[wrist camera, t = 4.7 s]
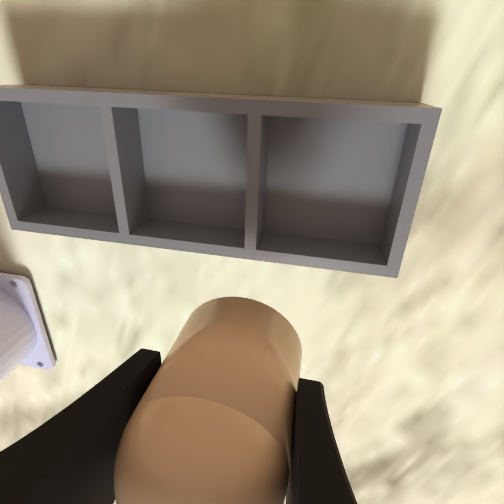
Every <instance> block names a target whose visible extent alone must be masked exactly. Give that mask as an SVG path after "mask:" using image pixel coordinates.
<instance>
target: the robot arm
mask: <svg viewBox="0 0 504 504" xmlns="http://www.w3.org/2000/svg"><path fill="white" fill-rule="evenodd" d="M19 364H21V365H26V366H31V367H36V368H41V369H46V370H52V369H53V368H54V367H55V365H56V363H55V359H54V356H53V353H52V350H51V347H50V343H49V340H48V337H47V334H46V330H45V327H44V324H43V321H42V317H41V314H40V311H39V308H38V304H37V301H36V298H35V295H34V291H33V288H32V285H31V282H30V280H29V279H28V278H27V277H25V276H21V275H15V274H8V273H1V272H0V382H1V381H2V380H3V379H4V378H5V377H6V376H7V375H9V374H10V373H11V372H12V371H13V370H14V369H15V368H16V367H17V366H18V365H19ZM160 366H161V356H160V352H158V351H153V350H147V349H140V350H139V351H138V352H136V353H135V354H134V355H133V356H131V357H130V358H129V359H128V360H126V361H125V362H124V363H123V364H121V365H120V366H119V367H118V368H116V369H115V370H114V371H113V372H112V373H110V374H109V375H108V376H107V377H105V378H104V379H103V380H102V381H100V382H99V383H98V384H96V385H95V386H94V387H93V388H91V389H90V390H89V391H87V392H86V393H85V394H83V395H82V396H81V397H80V398H78V399H77V400H76V401H74V402H73V403H72V404H70V405H69V406H68V407H66V408H65V409H63V410H62V411H61V412H59V413H58V414H56V415H55V416H54V417H52V418H51V419H49V420H48V421H47V422H45V423H44V424H42V425H41V426H39V427H38V428H37V429H35V430H34V431H32V432H31V433H29V434H28V435H26V436H25V437H23V438H21V439H20V440H18V441H17V442H15V443H14V444H12V445H10V446H9V447H7V448H6V449H4V450H3V451H1V452H0V504H113V503H114V501H115V499H116V498H115V492H114V467H115V458H116V453H117V449H118V445H119V442H120V439H121V436H122V434H123V431H124V429H125V427H126V425H127V423H128V421H129V419H130V417H131V416H132V414H133V412H134V410H135V409H136V407H137V405H138V404H139V402H140V400H141V399H142V397H143V395H144V393H145V392H146V390H147V388H148V387H149V385H150V383H151V382H152V380H153V378H154V376H155V375H156V373H157V371H158V370H159V368H160ZM286 504H357V502H356V499H355V496H354V494H353V491H352V488H351V486H350V483H349V480H348V477H347V475H346V472H345V469H344V466H343V463H342V460H341V456H340V453H339V450H338V447H337V444H336V441H335V437H334V434H333V430H332V426H331V422H330V419H329V415H328V410H327V406H326V401H325V395H324V387H323V385H322V383H321V382H318V381H313V380H307V379H302V378H299V379H298V386H297V393H296V402H295V412H294V421H293V443H292V457H291V467H290V477H289V483H288V489H287V492H286Z"/></svg>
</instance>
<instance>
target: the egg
mask: <svg viewBox="0 0 504 504" xmlns="http://www.w3.org/2000/svg"><path fill="white" fill-rule="evenodd" d="M301 356H302V349H301V343H300V340H299V337H298V335H297V333H296V331H295V330H294V328H293V326H292V325H291V324H290V323H289V322H288V320H287V319H286V318H285V317H283V316H282V315H281V314H280V313H279V312H277V311H276V310H274V309H273V308H271V307H269V306H268V305H265V304H263V303H261V302H258V301H255V300H252V299H248V298H242V297H223V298H217V299H213V300H210V301H208V302H206V303H204V304H202V305H201V306H199V307H198V308H197V309H196V310H195V311H194V312H193V313H192V314H191V315H190V317H189V319H188V320H187V322H186V324H185V325H184V327H183V329H182V331H181V332H180V334H179V336H178V337H177V339H176V341H175V342H174V344H173V346H172V348H171V349H170V351H169V353H168V354H167V356H166V358H165V359H164V361H163V363H162V365H161V366H160V368H159V370H158V371H157V373H156V375H155V376H154V378H153V380H152V382H151V383H150V385H149V387H148V388H147V390H146V392H145V393H144V395H143V397H142V399H141V400H140V402H139V404H138V405H137V407H136V409H135V410H134V412H133V414H132V416H131V417H130V419H129V421H128V423H127V425H126V427H125V429H124V431H123V434H122V436H121V439H120V442H119V445H118V449H117V453H116V458H115V467H114V492H115V498H116V503H117V504H283V503H284V499H285V496H286V492H287V489H288V483H289V477H290V467H291V457H292V443H293V421H294V412H295V402H296V393H297V386H298V379H299V377H300V367H301Z"/></svg>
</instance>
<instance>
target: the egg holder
mask: <svg viewBox="0 0 504 504" xmlns="http://www.w3.org/2000/svg"><path fill="white" fill-rule="evenodd" d="M441 111H442V108H438V107H434V106H430V105H427V104H423V103H411V102H389V101H368V100H346V99H324V98H303V97H281V96H259V95H238V94H216V93H194V92H172V91H151V90H129V89H107V88H86V87H64V86H42V85H0V194H1V197H2V200H3V203H4V206H5V210H6V213H7V216H8V219H9V223H10V226H11V229H13V230H21V231H29V232H37V233H45V234H53V235H61V236H69V237H76V238H84V239H92V240H100V241H108V242H116V243H124V244H132V245H140V246H148V247H156V248H163V249H171V250H179V251H187V252H195V253H203V254H211V255H219V256H227V257H235V258H243V259H251V260H258V261H266V262H274V263H282V264H290V265H298V266H306V267H314V268H322V269H330V270H338V271H346V272H353V273H361V274H369V275H377V276H385V277H393V278H397V277H398V273H399V269H400V266H401V262H402V258H403V254H404V250H405V247H406V243H407V239H408V235H409V232H410V228H411V224H412V220H413V216H414V213H415V209H416V205H417V201H418V198H419V194H420V190H421V186H422V182H423V179H424V175H425V171H426V167H427V163H428V160H429V156H430V152H431V148H432V145H433V141H434V137H435V133H436V129H437V126H438V122H439V118H440V114H441Z"/></svg>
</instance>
